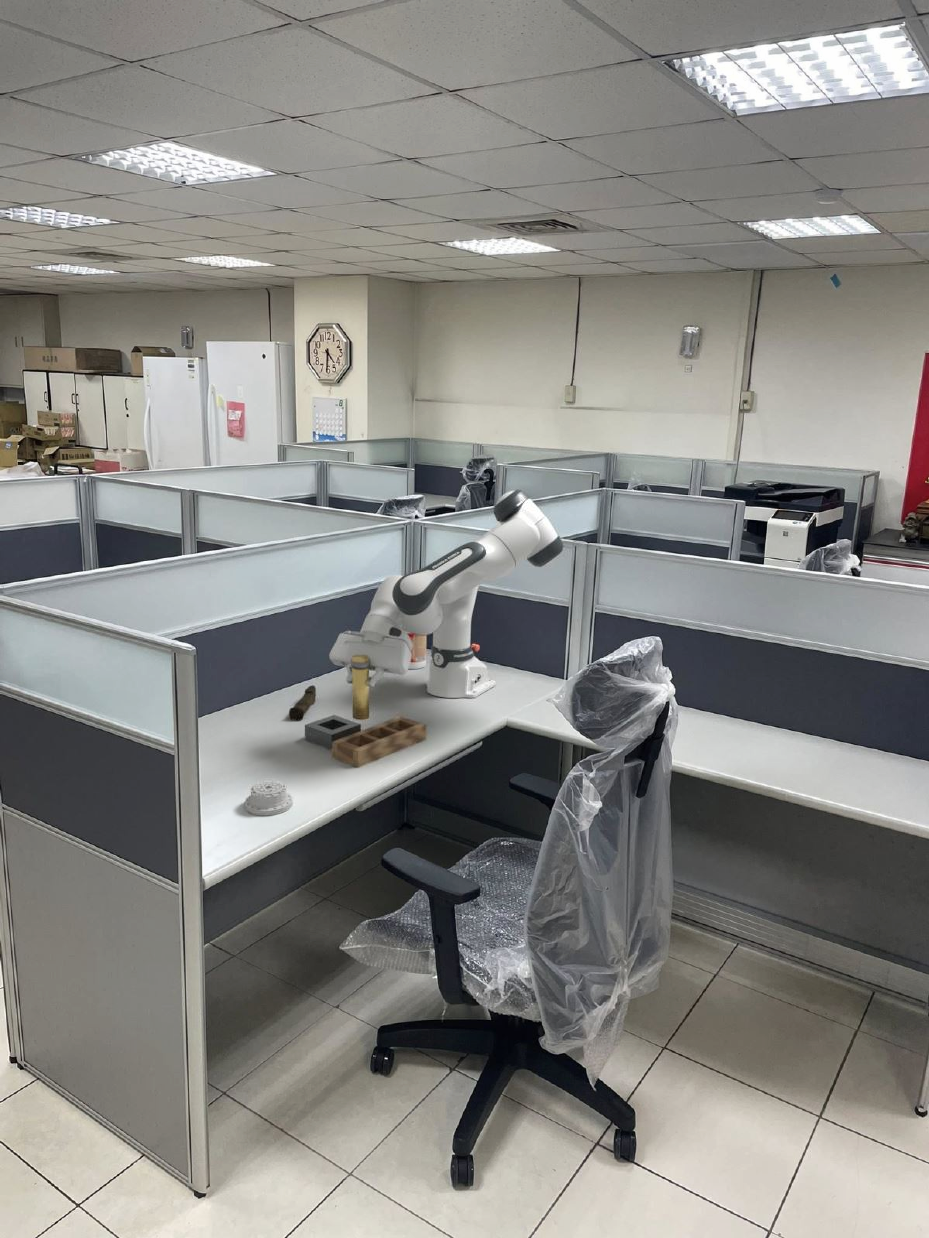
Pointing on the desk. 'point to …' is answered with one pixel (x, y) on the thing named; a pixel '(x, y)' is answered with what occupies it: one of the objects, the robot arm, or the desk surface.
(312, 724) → the socket block
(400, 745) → the wooden compartment tray
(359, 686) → the gold capped cylinder
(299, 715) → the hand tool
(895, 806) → the desk surface
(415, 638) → the fruit juice
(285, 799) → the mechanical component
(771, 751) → the desk surface
